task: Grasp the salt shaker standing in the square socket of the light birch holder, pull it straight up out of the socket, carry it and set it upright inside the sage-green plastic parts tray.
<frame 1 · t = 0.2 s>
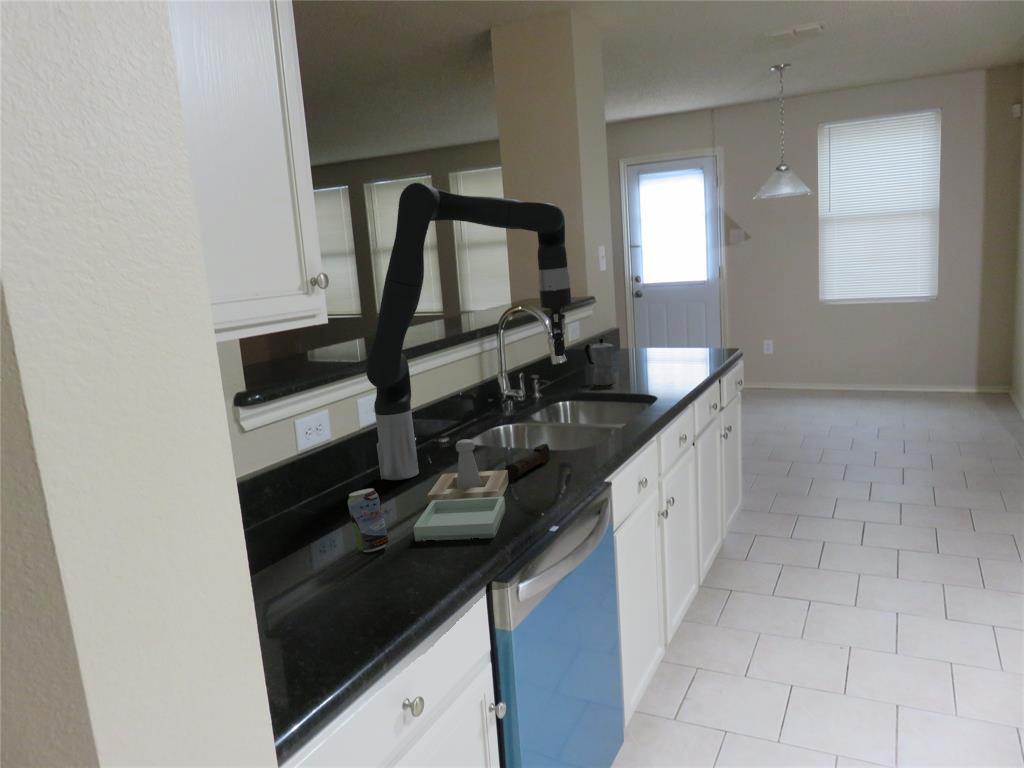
hand: (560, 353, 189), 29 cm above the counter, fingers open, 8 cm apart
coffeepot: (602, 383, 303), on the counter
hand tool: (529, 469, 195), on the counter
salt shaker: (470, 495, 178), resting in holder
beverage can: (372, 550, 150), on the counter
holder: (470, 494, 178), on the counter
parts tray: (462, 524, 159), on the counter
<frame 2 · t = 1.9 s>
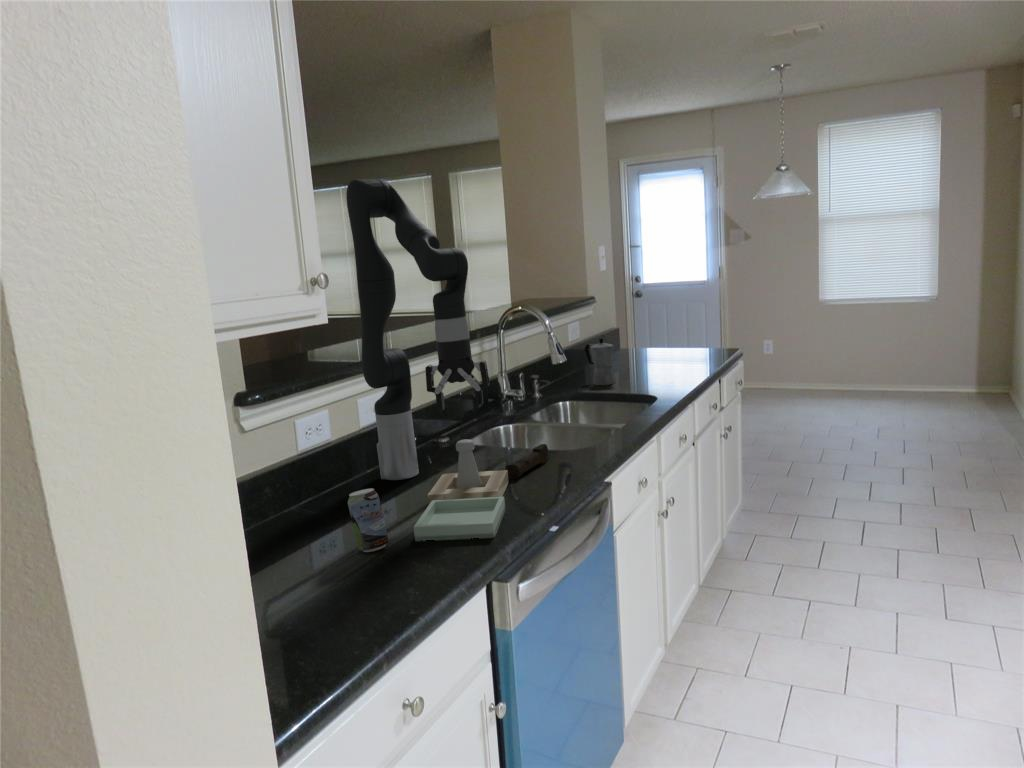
hand: (460, 408, 175), 21 cm above the counter, fingers open, 8 cm apart
nothing on the counter moved.
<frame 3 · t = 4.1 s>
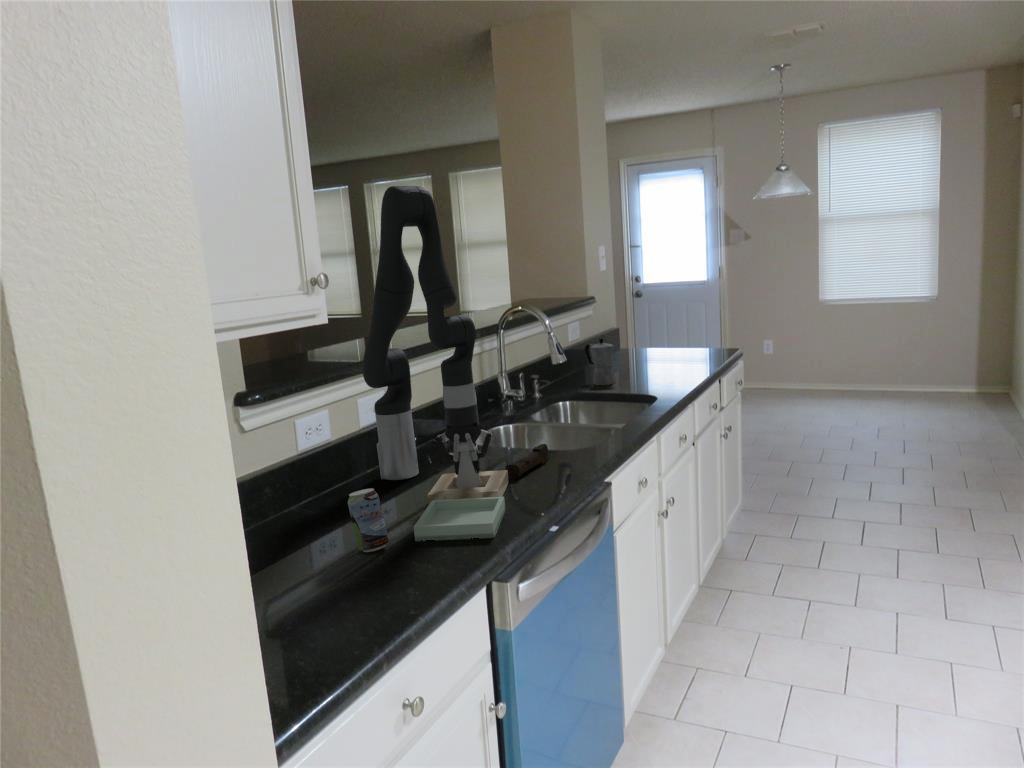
hand: (468, 475, 178), 5 cm above the counter, fingers closed on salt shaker, 3 cm apart
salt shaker: (470, 495, 178), resting in holder, touching gripper
everything else where it was.
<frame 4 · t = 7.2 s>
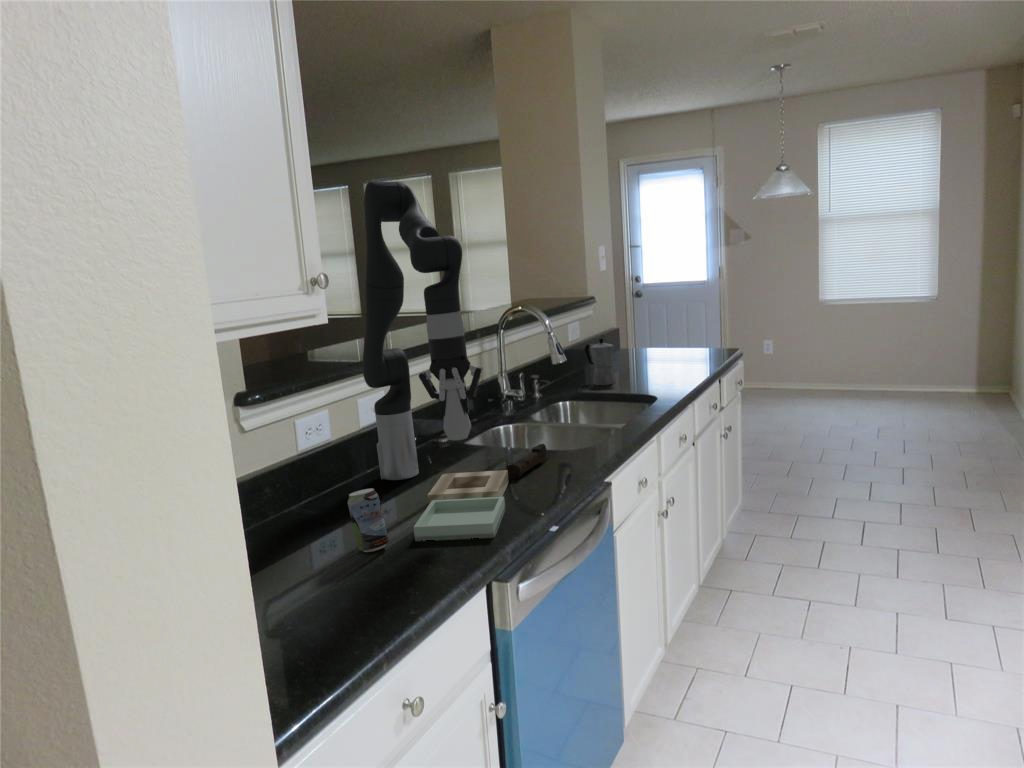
hand: (456, 416, 160), 22 cm above the counter, fingers closed on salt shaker, 3 cm apart
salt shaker: (458, 438, 161), point 17 cm above the counter, touching gripper
everything else where it was.
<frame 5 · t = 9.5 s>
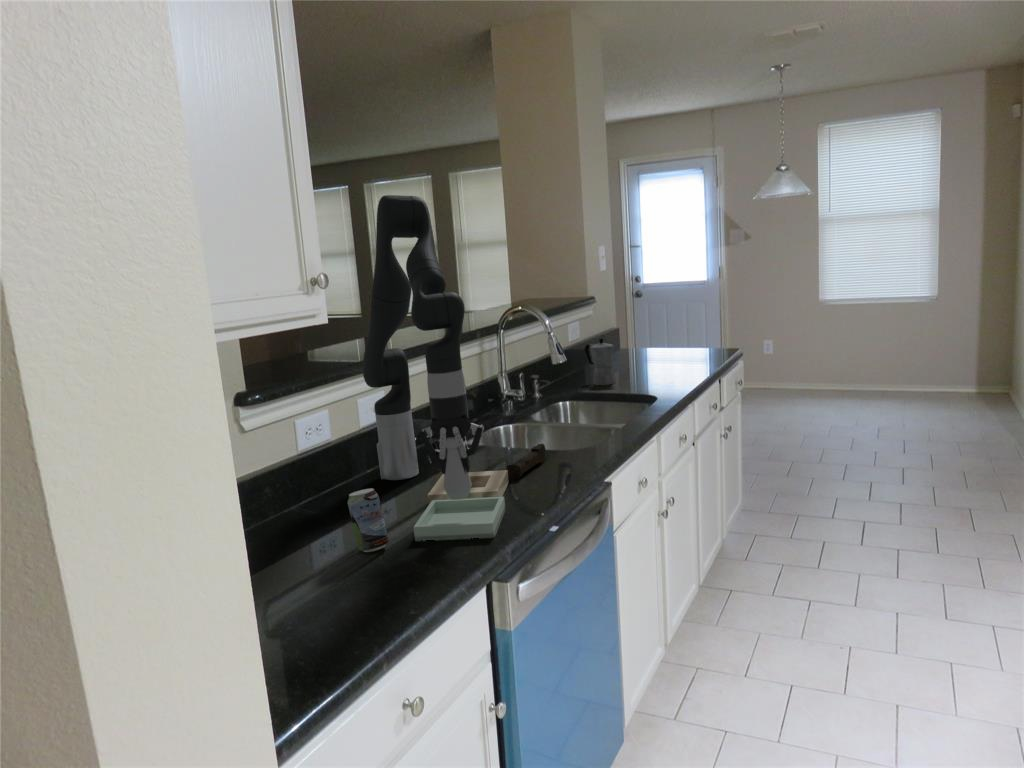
hand: (456, 474, 157), 11 cm above the counter, fingers closed on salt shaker, 3 cm apart
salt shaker: (459, 497, 158), point 6 cm above the counter, touching gripper
everything else where it was.
when the fingers open (7 cm above the counter, at t = 10.7 s): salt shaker stays where it is, resting on parts tray.
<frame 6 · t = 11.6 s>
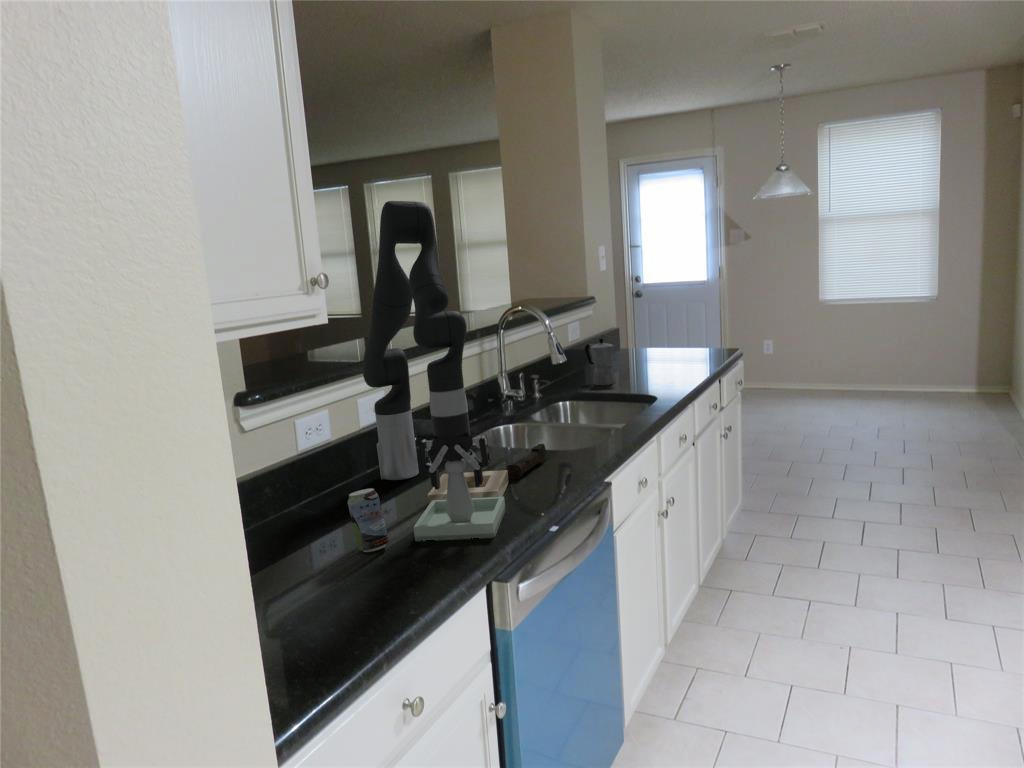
hand: (458, 487, 157), 8 cm above the counter, fingers open, 8 cm apart
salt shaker: (461, 521, 159), point 1 cm above the counter, touching parts tray
everything else where it was.
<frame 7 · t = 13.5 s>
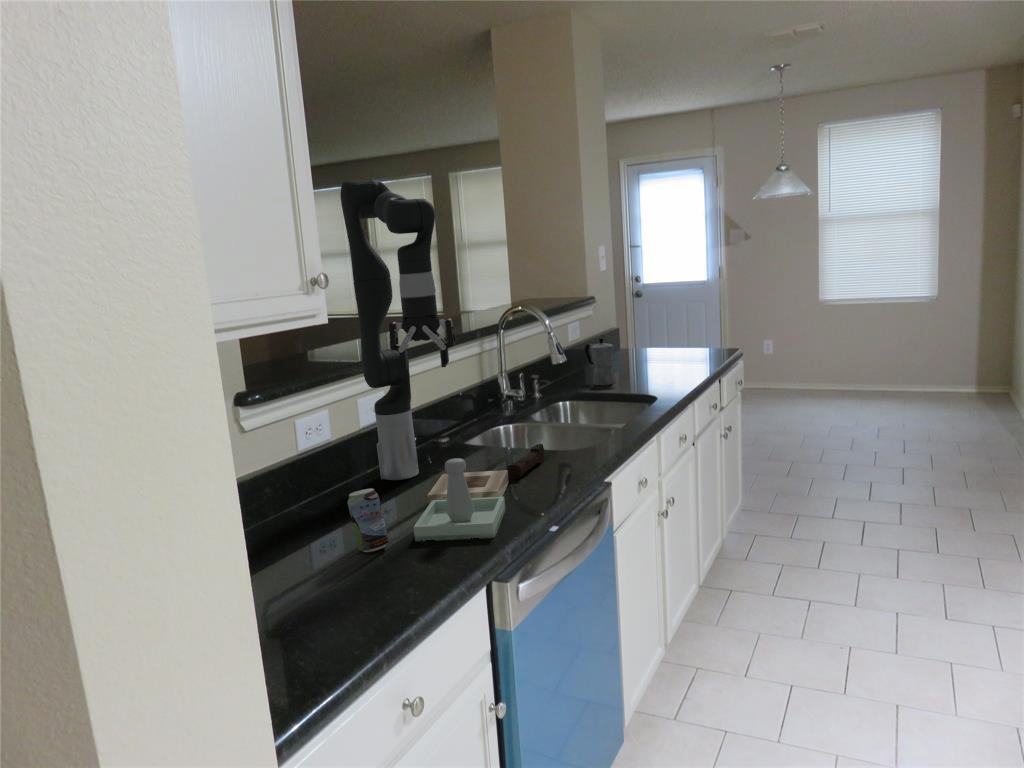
hand: (425, 367, 168), 31 cm above the counter, fingers open, 8 cm apart
nothing on the counter moved.
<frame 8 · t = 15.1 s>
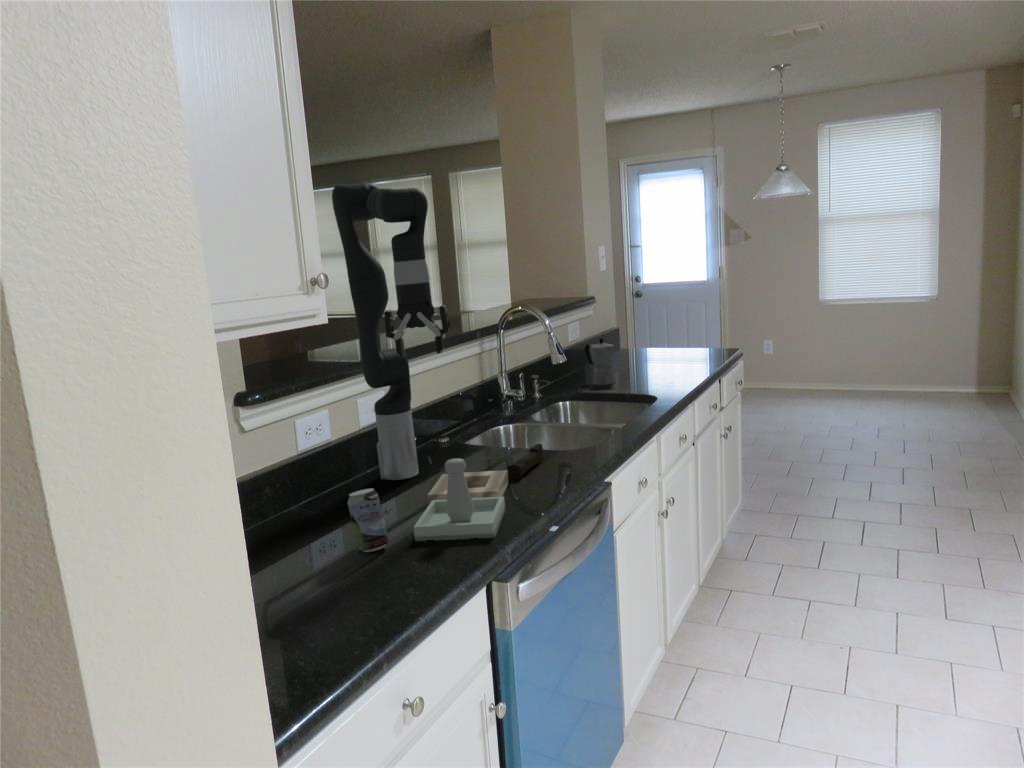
hand: (420, 354, 171), 34 cm above the counter, fingers open, 8 cm apart
nothing on the counter moved.
at the end: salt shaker inside the target area on the parts tray (0.1 cm from its centre), point 0.8 cm above the parts tray's base; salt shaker tilted 0°; the gripper is holding nothing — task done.
